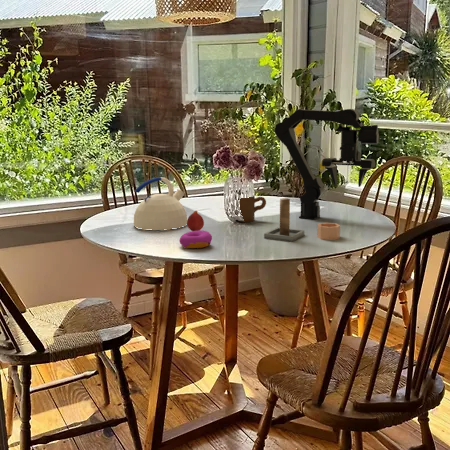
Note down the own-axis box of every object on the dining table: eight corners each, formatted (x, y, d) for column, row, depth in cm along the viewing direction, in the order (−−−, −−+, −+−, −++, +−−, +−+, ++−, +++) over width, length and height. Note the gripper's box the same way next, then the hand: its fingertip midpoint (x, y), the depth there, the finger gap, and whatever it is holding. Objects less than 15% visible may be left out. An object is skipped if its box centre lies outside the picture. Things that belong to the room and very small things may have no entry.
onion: (191, 235, 179) (190, 212, 177) (184, 232, 184) (183, 210, 182) (206, 233, 181) (206, 211, 180) (199, 230, 186) (199, 208, 185)
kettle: (199, 225, 195) (198, 176, 191) (151, 234, 182) (148, 182, 178) (169, 217, 210) (167, 172, 206) (123, 224, 198) (120, 177, 194)
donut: (184, 241, 172) (184, 228, 171) (215, 242, 170) (214, 229, 169) (176, 250, 162) (176, 235, 161) (209, 251, 160) (208, 236, 159)
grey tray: (264, 239, 172) (264, 233, 172) (277, 233, 181) (277, 227, 180) (292, 243, 167) (292, 237, 167) (304, 236, 176) (304, 230, 175)
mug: (265, 218, 205) (265, 194, 203) (266, 222, 198) (266, 197, 196) (234, 218, 205) (234, 194, 203) (234, 222, 198) (234, 198, 196)
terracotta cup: (314, 239, 171) (315, 226, 170) (322, 235, 177) (322, 222, 176) (334, 242, 168) (335, 228, 167) (341, 237, 174) (342, 224, 173)
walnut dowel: (277, 234, 174) (277, 199, 171) (285, 233, 176) (285, 197, 173) (283, 236, 172) (284, 200, 169) (291, 235, 173) (291, 199, 171)
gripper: (380, 143, 195) (378, 184, 198) (332, 142, 205) (331, 181, 208) (371, 145, 186) (369, 188, 189) (321, 143, 195) (320, 185, 199)
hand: (347, 186), depth 197 cm, fingers open, 9 cm apart
